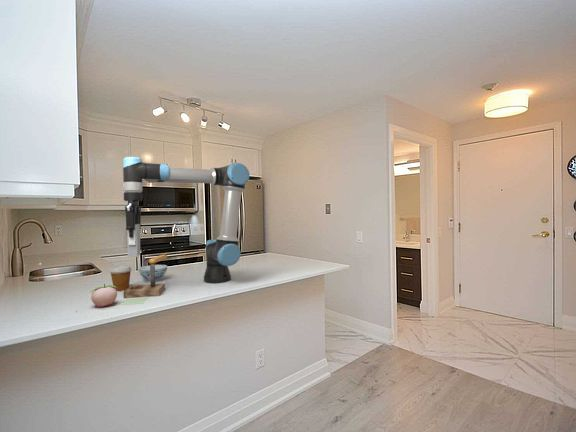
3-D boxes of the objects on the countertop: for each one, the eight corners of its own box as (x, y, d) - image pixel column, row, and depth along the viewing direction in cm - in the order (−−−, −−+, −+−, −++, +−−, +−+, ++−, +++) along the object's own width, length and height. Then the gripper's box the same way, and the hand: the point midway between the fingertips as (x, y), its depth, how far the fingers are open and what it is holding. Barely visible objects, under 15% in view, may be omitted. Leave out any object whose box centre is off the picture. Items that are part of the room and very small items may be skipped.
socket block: (164, 291, 150) (164, 261, 150) (159, 298, 139) (158, 265, 138) (132, 293, 148) (131, 262, 147) (123, 300, 136) (122, 267, 135)
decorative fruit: (96, 313, 119) (95, 287, 119) (89, 309, 125) (88, 284, 124) (121, 307, 126) (120, 283, 126) (114, 303, 132) (113, 280, 132)
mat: (149, 299, 136) (149, 297, 136) (143, 306, 127) (143, 303, 127) (127, 301, 135) (127, 298, 135) (120, 307, 126) (119, 305, 126)
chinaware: (165, 276, 184) (164, 263, 184) (169, 281, 171) (169, 267, 171) (137, 279, 176) (137, 266, 176) (140, 285, 164) (139, 270, 163)
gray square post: (140, 254, 139) (139, 224, 139) (137, 255, 135) (136, 224, 135) (131, 254, 139) (130, 224, 139) (127, 256, 135) (127, 224, 135)
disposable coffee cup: (122, 294, 146) (122, 269, 145) (105, 293, 148) (104, 269, 147) (136, 289, 155) (135, 265, 155) (120, 288, 157) (119, 265, 157)
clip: (154, 263, 142) (153, 259, 142) (148, 263, 142) (147, 259, 142) (167, 258, 157) (167, 254, 157) (162, 258, 157) (162, 254, 157)
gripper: (131, 193, 144) (131, 242, 145) (116, 190, 128) (117, 246, 128) (147, 193, 146) (148, 242, 146) (135, 190, 129) (136, 246, 129)
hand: (134, 244), depth 137 cm, fingers closed on gray square post, 4 cm apart
